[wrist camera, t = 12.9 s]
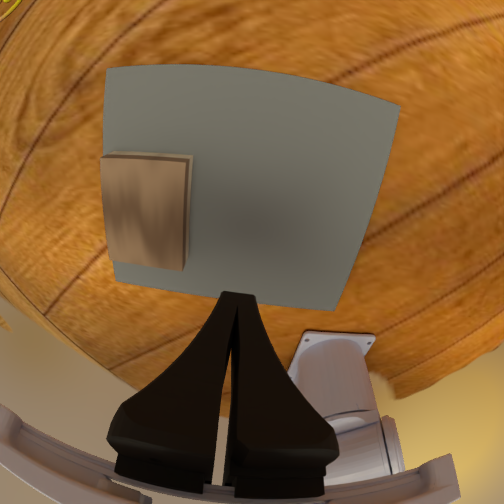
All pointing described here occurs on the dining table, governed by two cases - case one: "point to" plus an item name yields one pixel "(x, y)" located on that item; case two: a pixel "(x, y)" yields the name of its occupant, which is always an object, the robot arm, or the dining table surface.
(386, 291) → the dining table surface
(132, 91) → the mat
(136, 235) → the tile
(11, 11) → the decorative art
